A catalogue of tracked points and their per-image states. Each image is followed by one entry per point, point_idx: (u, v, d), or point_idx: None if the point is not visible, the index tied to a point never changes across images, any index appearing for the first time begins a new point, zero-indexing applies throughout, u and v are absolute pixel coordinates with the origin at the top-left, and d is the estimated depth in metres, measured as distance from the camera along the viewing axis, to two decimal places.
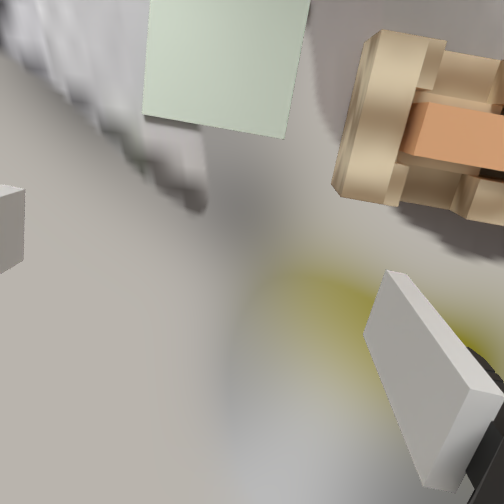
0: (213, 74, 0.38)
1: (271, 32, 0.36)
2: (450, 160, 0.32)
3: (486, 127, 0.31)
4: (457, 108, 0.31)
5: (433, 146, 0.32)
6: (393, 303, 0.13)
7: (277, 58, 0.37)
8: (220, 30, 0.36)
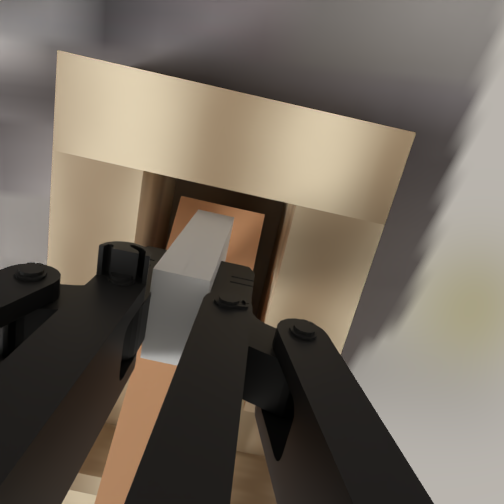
0: None
1: None
2: None
3: (148, 405, 0.16)
4: (105, 473, 0.15)
5: None
6: None
7: None
8: None
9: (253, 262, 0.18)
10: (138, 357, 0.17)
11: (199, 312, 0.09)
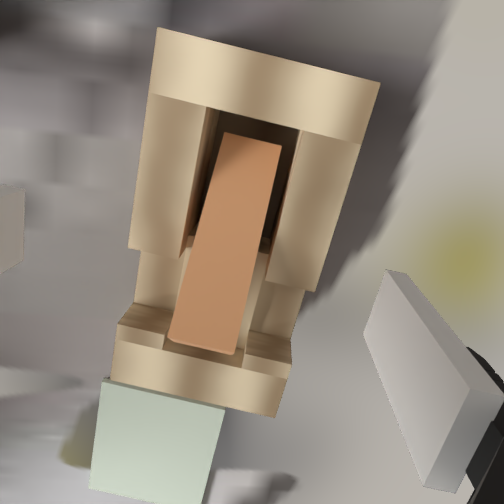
0: (165, 459, 0.41)
1: (129, 412, 0.39)
2: (244, 303, 0.24)
3: (205, 262, 0.25)
4: (178, 300, 0.24)
5: (224, 327, 0.24)
6: (393, 303, 0.13)
7: (151, 410, 0.39)
8: (129, 449, 0.41)
9: (273, 176, 0.27)
10: (198, 233, 0.25)
11: None
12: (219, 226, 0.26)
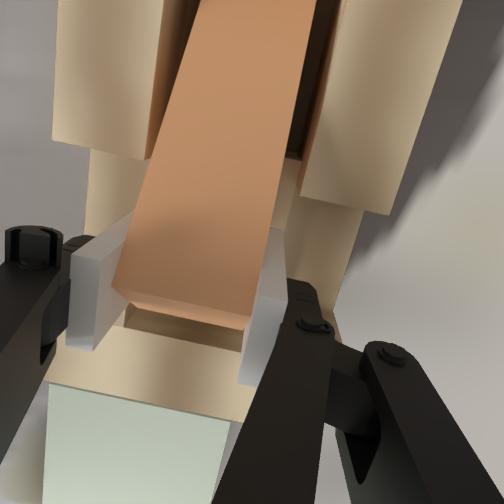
0: (146, 492, 0.29)
1: (92, 428, 0.27)
2: (267, 219, 0.12)
3: (190, 144, 0.13)
4: (136, 214, 0.12)
5: (230, 266, 0.12)
6: None
7: (123, 424, 0.27)
8: (95, 480, 0.29)
9: (314, 3, 0.15)
10: (175, 92, 0.13)
11: (281, 332, 0.09)
12: (216, 82, 0.13)
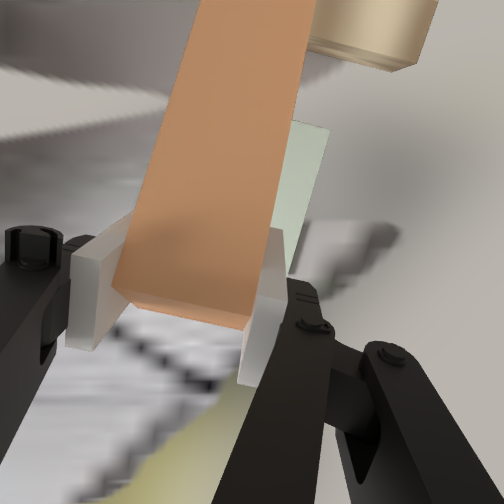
0: None
1: None
2: (267, 219, 0.12)
3: (190, 144, 0.13)
4: (136, 214, 0.12)
5: (230, 266, 0.12)
6: None
7: None
8: None
9: (314, 2, 0.15)
10: (175, 92, 0.13)
11: (281, 332, 0.09)
12: (216, 81, 0.13)
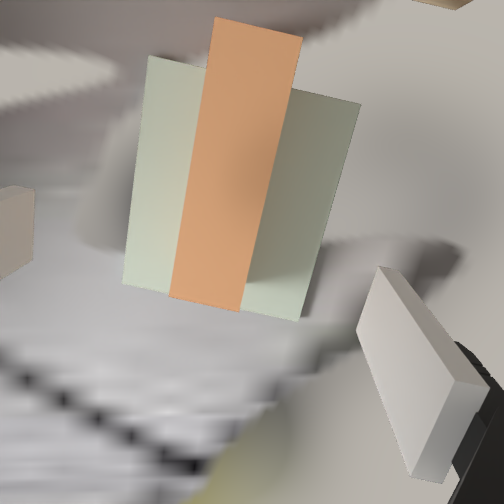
0: None
1: (195, 121, 0.23)
2: (248, 263, 0.22)
3: (202, 218, 0.21)
4: (176, 260, 0.22)
5: (227, 288, 0.22)
6: (384, 299, 0.13)
7: None
8: None
9: (288, 93, 0.19)
10: (189, 181, 0.20)
11: (493, 422, 0.07)
12: (215, 172, 0.20)
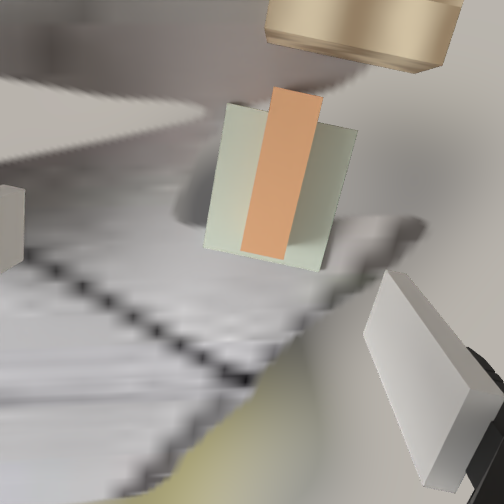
0: None
1: (254, 142, 0.37)
2: (289, 228, 0.36)
3: (262, 201, 0.35)
4: (245, 227, 0.36)
5: (276, 244, 0.36)
6: (393, 303, 0.13)
7: None
8: (251, 192, 0.39)
9: (315, 128, 0.33)
10: (256, 179, 0.34)
11: None
12: (271, 173, 0.34)
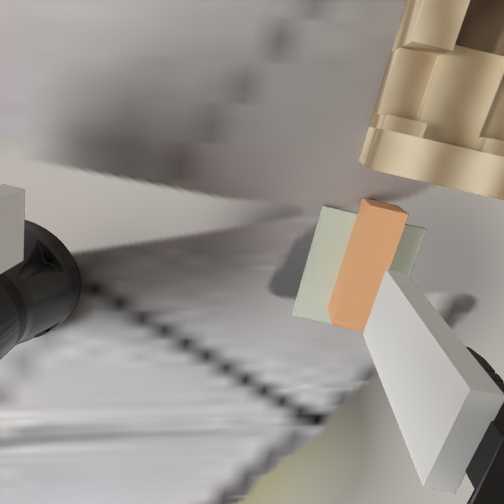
0: None
1: (342, 236, 0.46)
2: None
3: (353, 288, 0.44)
4: (338, 307, 0.45)
5: (362, 320, 0.45)
6: (393, 303, 0.13)
7: None
8: (336, 273, 0.48)
9: (400, 236, 0.42)
10: (350, 272, 0.43)
11: None
12: (362, 268, 0.43)
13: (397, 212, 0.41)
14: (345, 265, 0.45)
